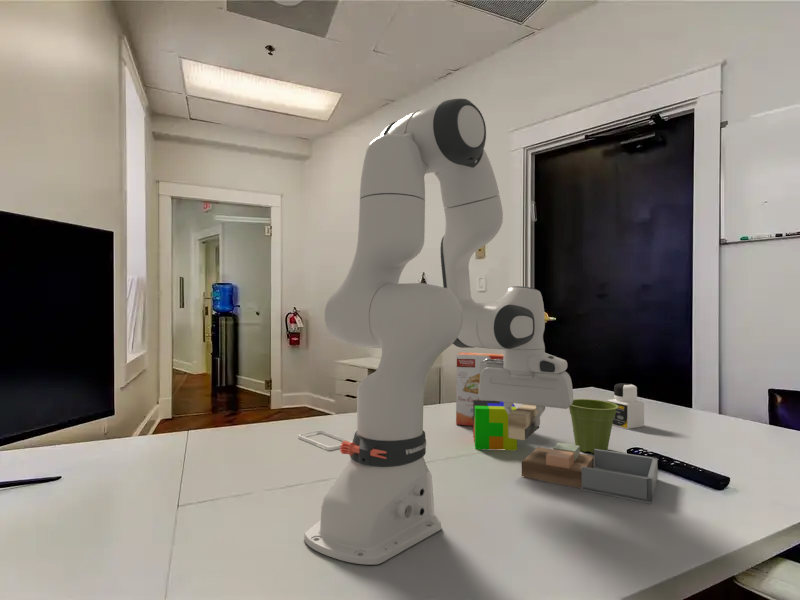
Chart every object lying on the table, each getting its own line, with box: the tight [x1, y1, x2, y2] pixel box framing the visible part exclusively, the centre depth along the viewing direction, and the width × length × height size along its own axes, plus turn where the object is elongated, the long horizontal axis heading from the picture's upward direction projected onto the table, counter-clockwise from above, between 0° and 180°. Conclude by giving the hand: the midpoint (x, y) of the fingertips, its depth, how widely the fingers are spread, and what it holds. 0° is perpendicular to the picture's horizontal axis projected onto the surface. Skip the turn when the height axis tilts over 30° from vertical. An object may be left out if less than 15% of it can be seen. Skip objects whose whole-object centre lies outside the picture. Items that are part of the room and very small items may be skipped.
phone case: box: [297, 430, 353, 452], centre depth 125 cm, size 7×1×15 cm
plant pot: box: [568, 398, 619, 454], centre depth 118 cm, size 12×12×11 cm
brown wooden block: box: [521, 446, 594, 489], centre depth 102 cm, size 12×12×3 cm
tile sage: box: [552, 442, 581, 461], centre depth 104 cm, size 4×4×2 cm
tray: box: [581, 449, 659, 505], centre depth 96 cm, size 14×12×4 cm
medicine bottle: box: [607, 382, 645, 430], centre depth 142 cm, size 7×7×12 cm
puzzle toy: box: [472, 400, 518, 451], centre depth 123 cm, size 10×10×10 cm
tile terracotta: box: [546, 448, 574, 469], centre depth 99 cm, size 4×4×2 cm
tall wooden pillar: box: [508, 404, 540, 441], centre depth 106 cm, size 11×4×5 cm, turn 149°
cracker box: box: [455, 351, 503, 427], centre depth 142 cm, size 14×6×21 cm, turn 73°
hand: (524, 423), depth 106 cm, fingers closed on tall wooden pillar, 3 cm apart
